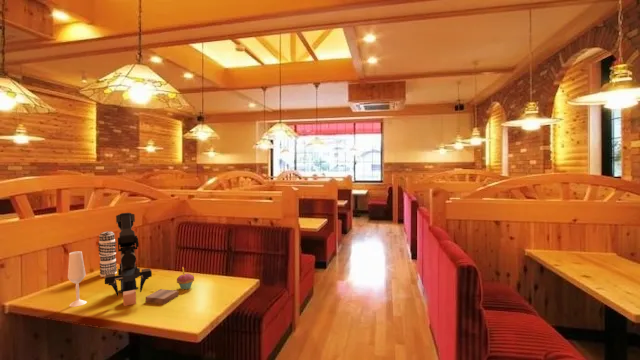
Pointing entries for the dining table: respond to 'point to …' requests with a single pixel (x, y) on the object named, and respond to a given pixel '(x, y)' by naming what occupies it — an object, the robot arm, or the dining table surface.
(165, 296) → the base
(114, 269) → the decorative candle
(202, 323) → the dining table surface
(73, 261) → the champagne flute
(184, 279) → the cupcake
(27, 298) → the dining table surface
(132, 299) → the cube
